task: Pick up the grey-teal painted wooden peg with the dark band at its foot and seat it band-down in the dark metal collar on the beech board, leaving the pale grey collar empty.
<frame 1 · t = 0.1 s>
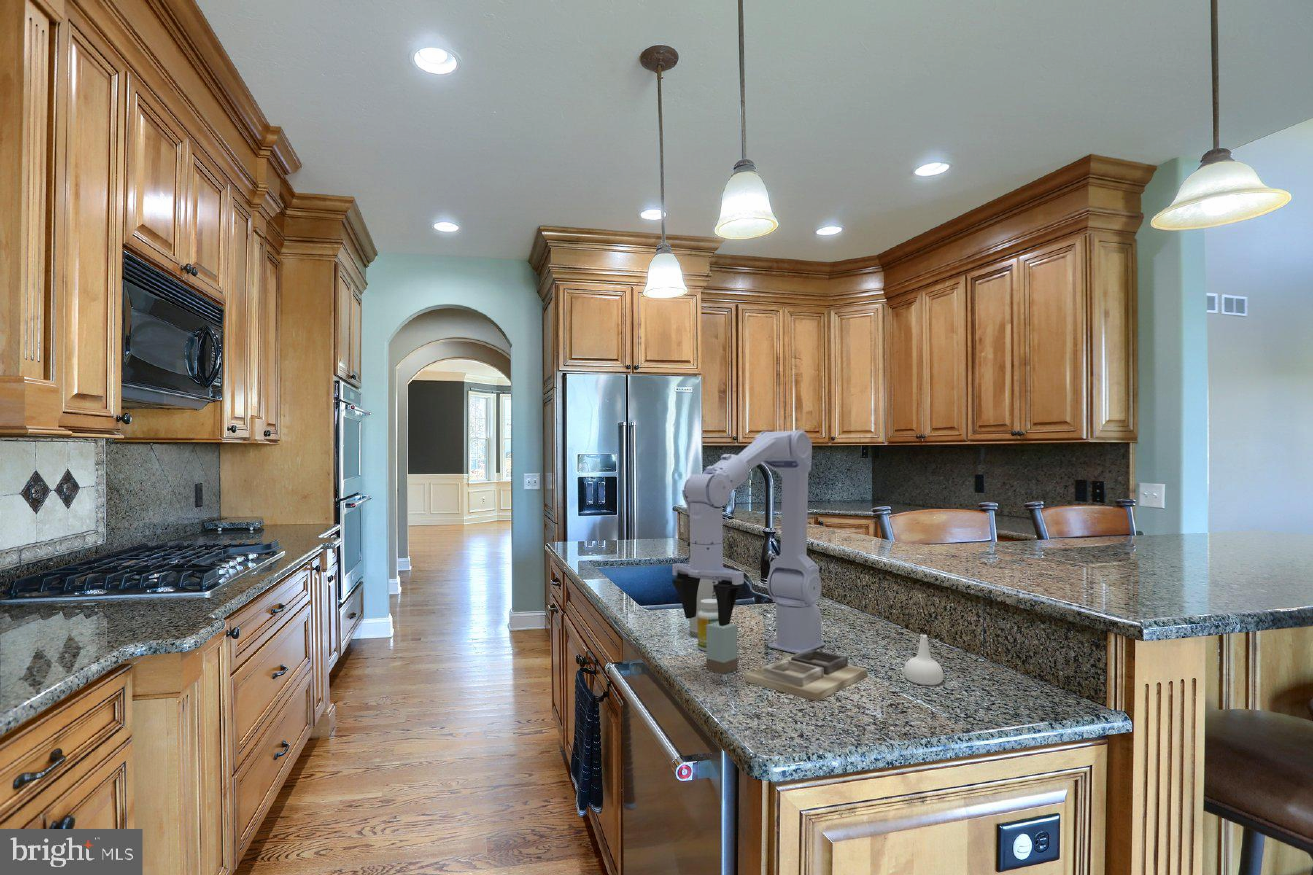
hand: (707, 621, 115), 10 cm above the counter, fingers open, 7 cm apart
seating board: (807, 678, 115), on the counter
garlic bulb: (923, 681, 114), on the counter
travel mug: (703, 635, 145), on the counter
supplement bottle: (711, 649, 134), on the counter
banded peg: (722, 669, 121), on the counter
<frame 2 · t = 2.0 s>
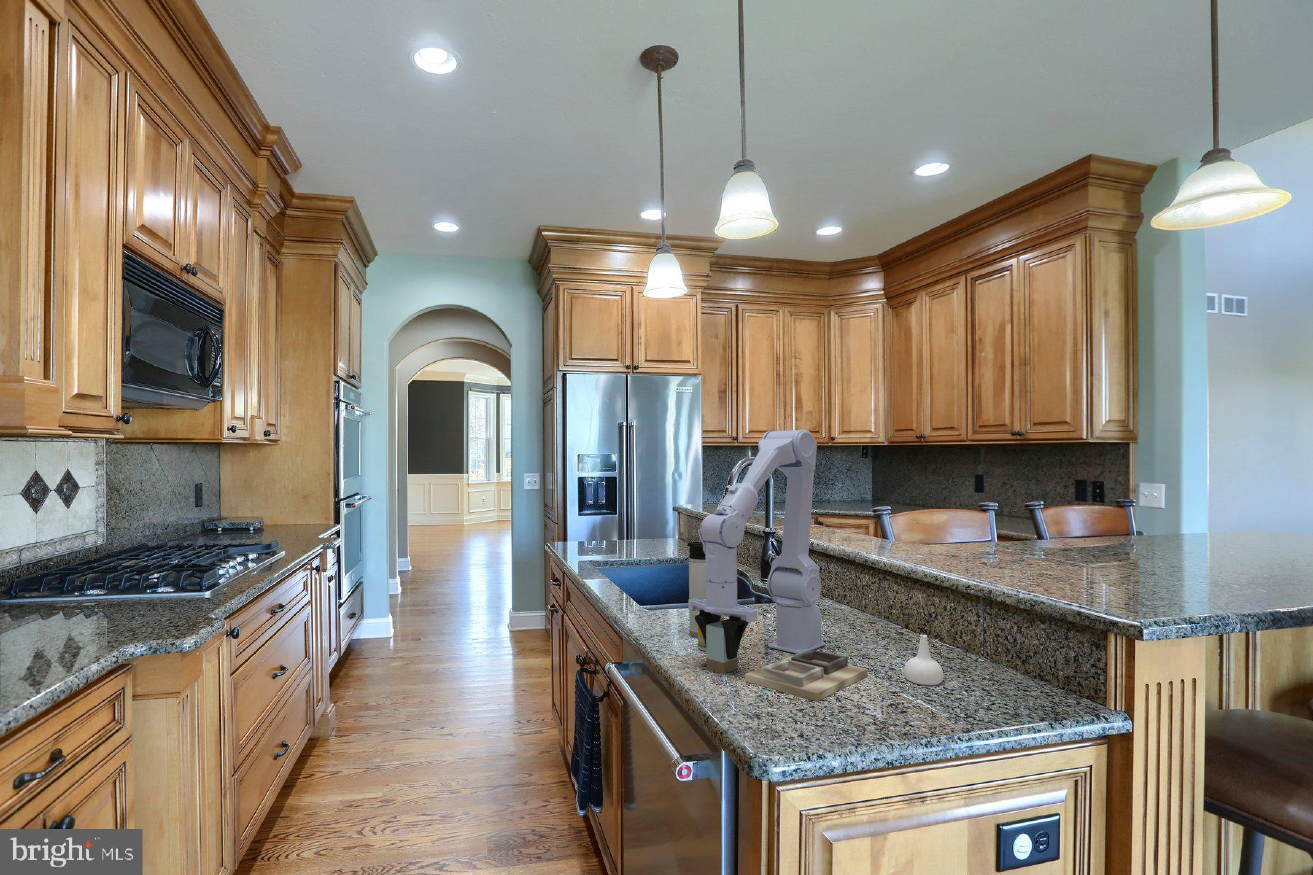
hand: (721, 655, 121), 2 cm above the counter, fingers closed on banded peg, 4 cm apart
banded peg: (722, 669, 121), on the counter, touching gripper
everything else where it was.
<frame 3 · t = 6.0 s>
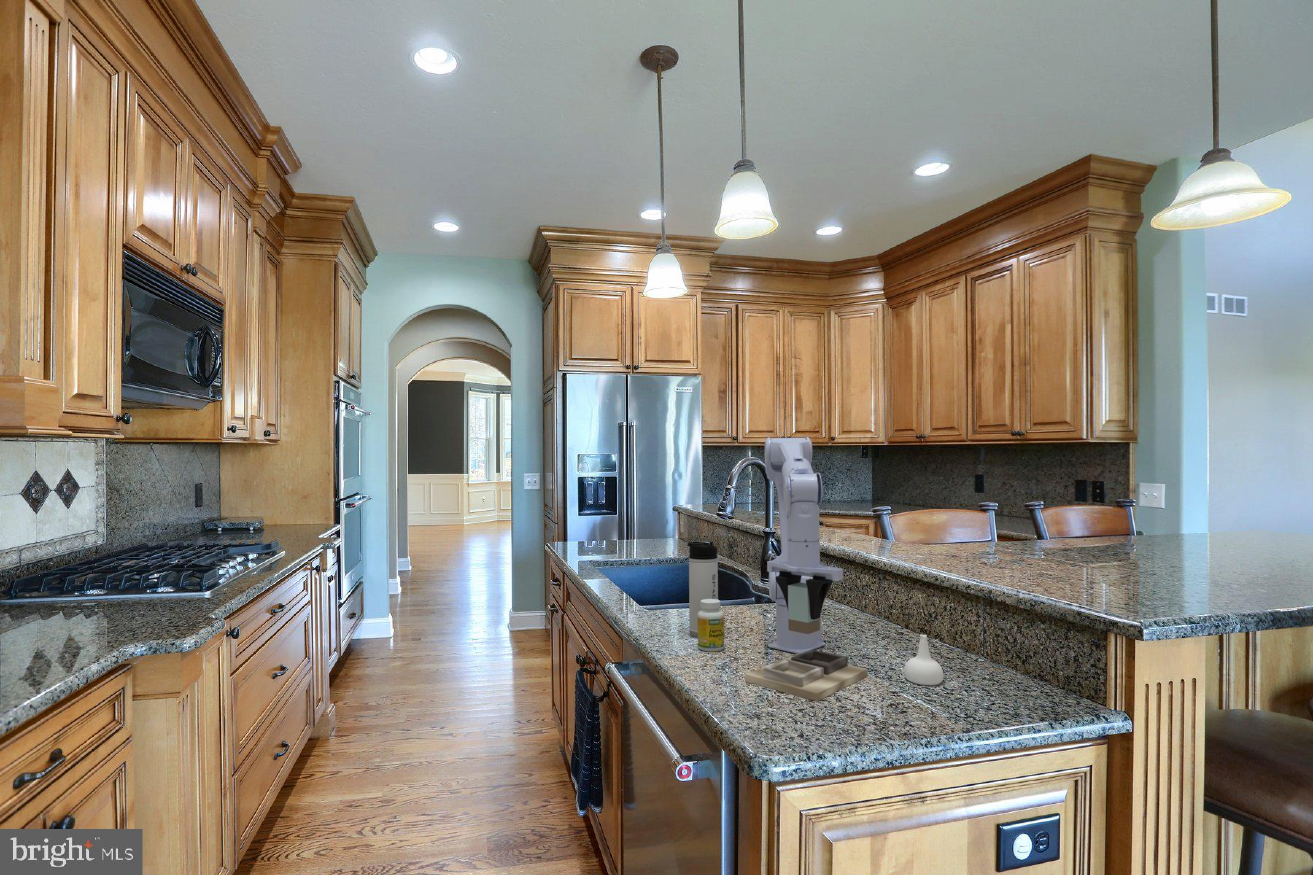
hand: (804, 616, 119), 10 cm above the counter, fingers closed on banded peg, 4 cm apart
banded peg: (804, 630, 119), point 7 cm above the counter, touching gripper
everything else where it was.
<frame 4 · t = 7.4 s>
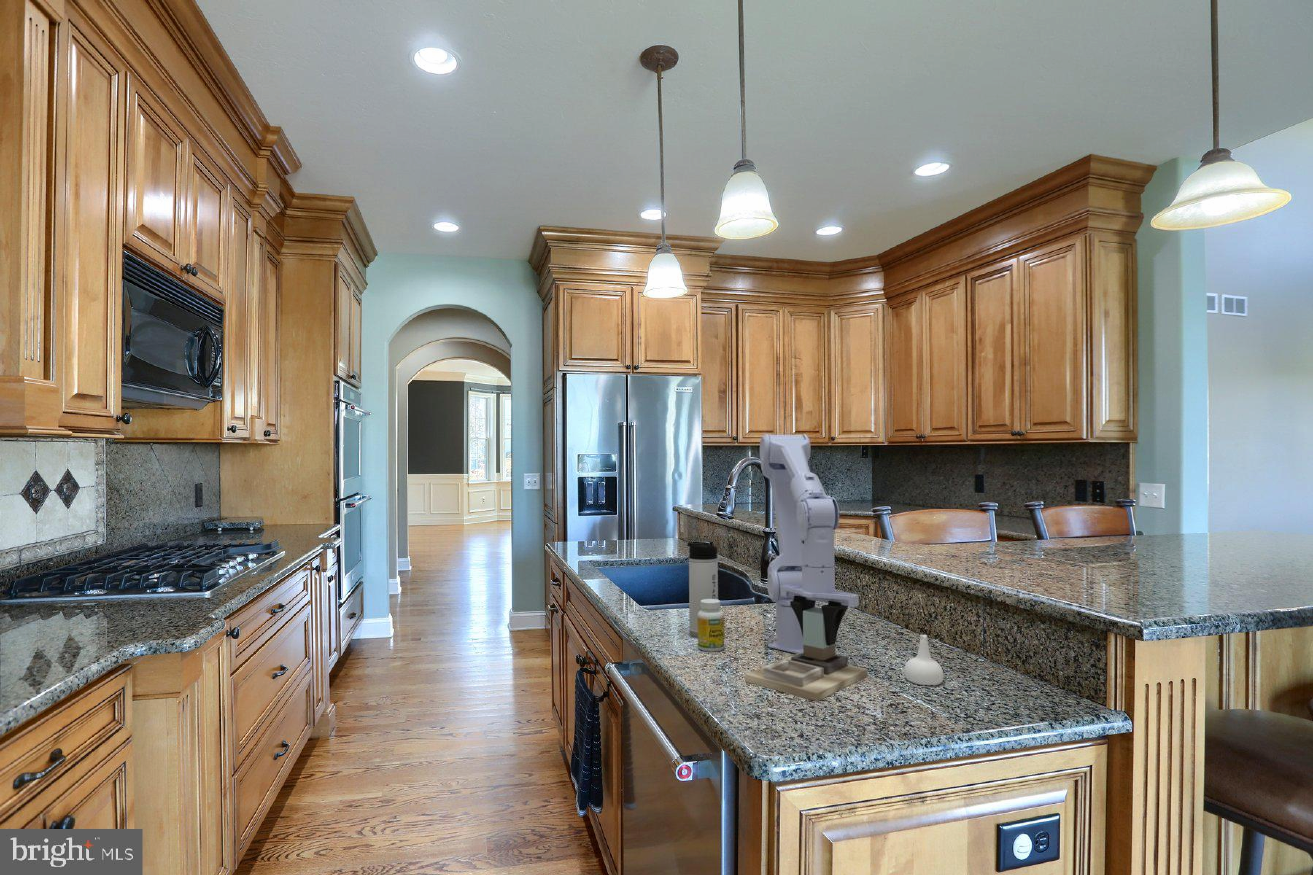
hand: (819, 641, 118), 5 cm above the counter, fingers closed on banded peg, 4 cm apart
banded peg: (819, 655, 118), point 3 cm above the counter, touching gripper
everything else where it was.
when the fingers open (5 cm above the counter, at t = 8.1 s): banded peg stays where it is, resting on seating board.
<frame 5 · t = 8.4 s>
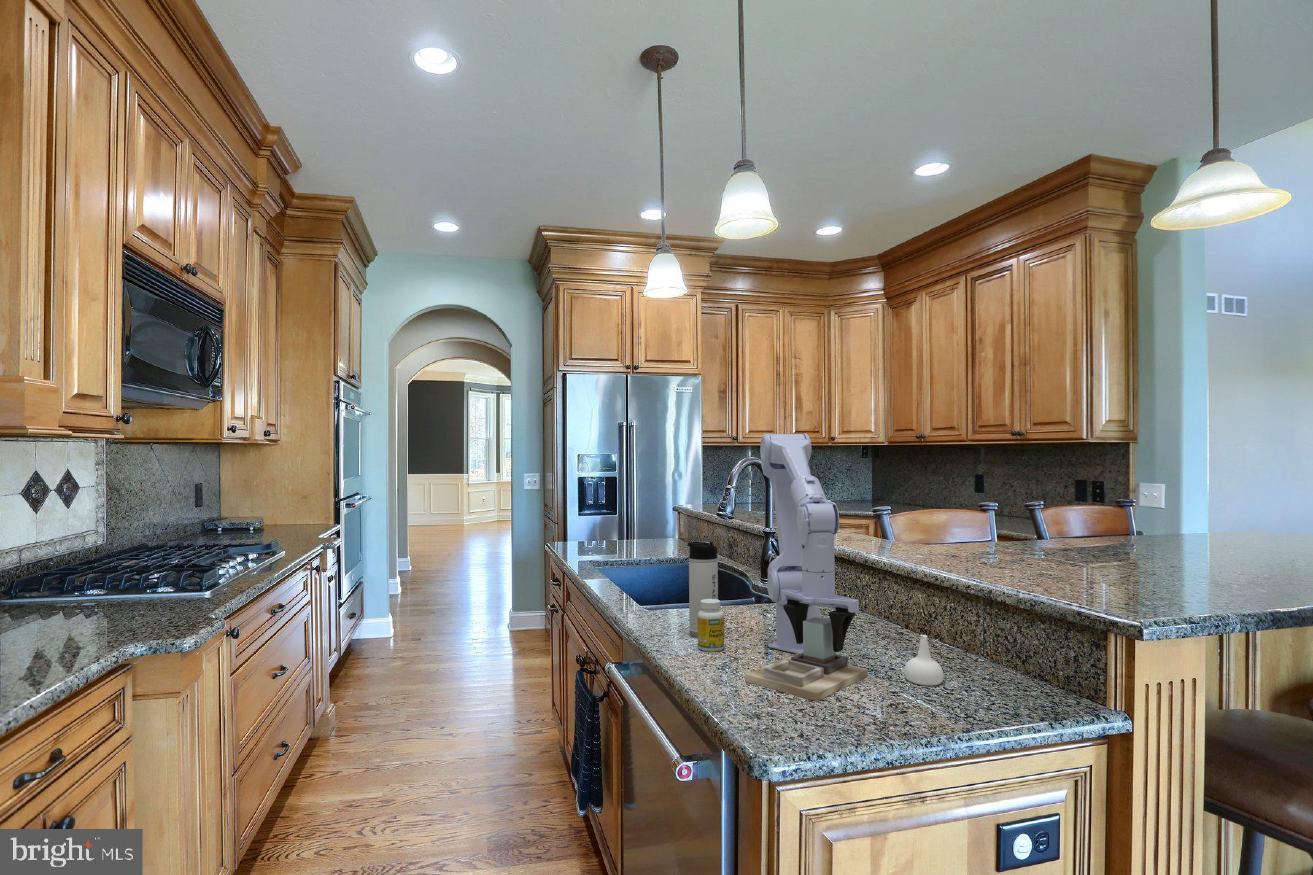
hand: (819, 646, 118), 5 cm above the counter, fingers open, 7 cm apart
banded peg: (819, 665, 118), point 1 cm above the counter, touching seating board
everything else where it was.
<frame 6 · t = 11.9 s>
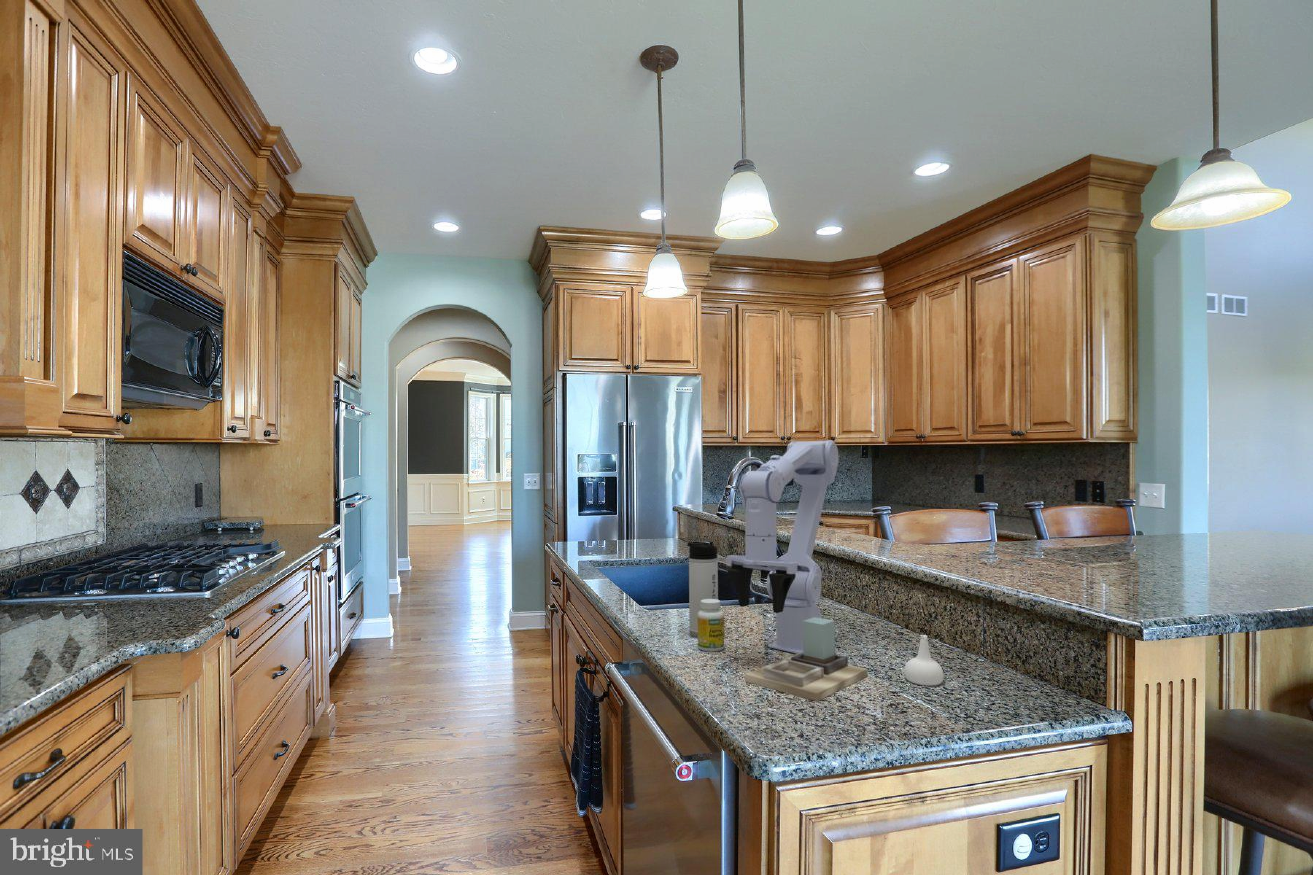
hand: (760, 608, 123), 10 cm above the counter, fingers open, 7 cm apart
nothing on the counter moved.
at the end: banded peg 0.0 cm from the target spot on the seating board, point 1.2 cm above the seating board's base; banded peg tilted 0°; the gripper is holding nothing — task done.
